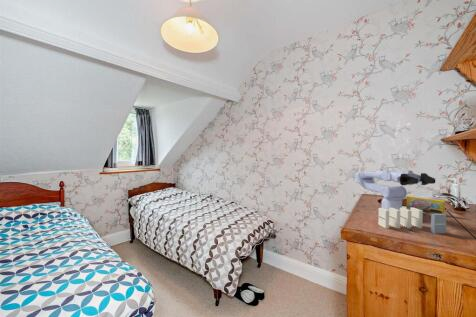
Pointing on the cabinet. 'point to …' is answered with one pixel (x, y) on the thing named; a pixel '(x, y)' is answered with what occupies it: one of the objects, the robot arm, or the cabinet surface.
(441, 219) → the slate domino
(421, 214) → the ivory domino
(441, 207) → the candy box
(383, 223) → the ivory domino
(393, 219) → the ivory domino
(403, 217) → the ivory domino
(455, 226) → the cabinet surface
